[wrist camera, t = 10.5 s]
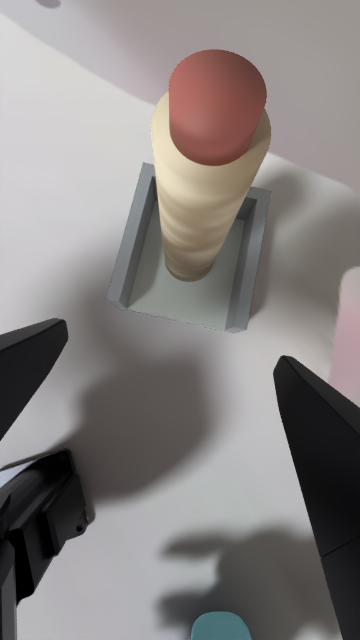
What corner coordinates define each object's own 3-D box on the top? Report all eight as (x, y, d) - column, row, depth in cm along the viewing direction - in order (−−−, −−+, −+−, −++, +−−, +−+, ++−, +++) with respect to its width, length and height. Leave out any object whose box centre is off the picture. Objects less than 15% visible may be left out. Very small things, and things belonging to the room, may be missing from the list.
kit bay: (117, 307, 20) (106, 298, 16) (148, 193, 21) (143, 162, 18) (233, 333, 20) (246, 329, 16) (254, 217, 21) (270, 191, 18)
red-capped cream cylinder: (159, 275, 20) (131, 135, 7) (170, 230, 20) (165, 19, 7) (207, 287, 20) (275, 168, 7) (217, 241, 20) (297, 49, 7)
